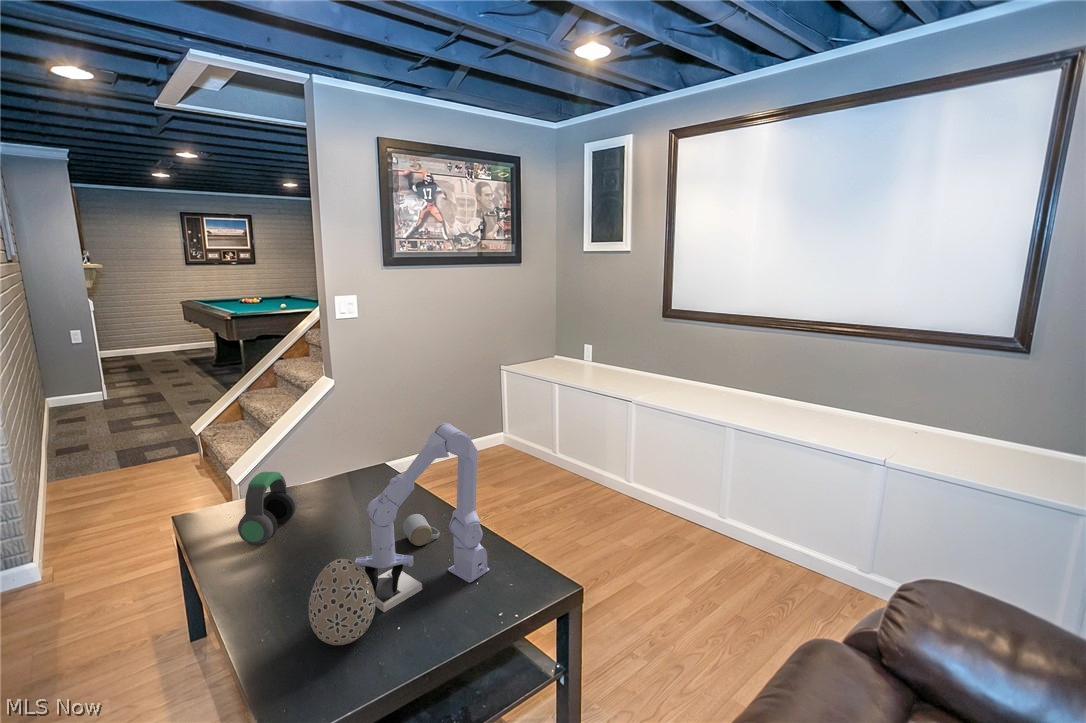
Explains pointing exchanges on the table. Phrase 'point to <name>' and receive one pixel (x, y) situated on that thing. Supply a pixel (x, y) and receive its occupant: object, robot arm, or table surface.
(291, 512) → the headphones
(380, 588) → the plug
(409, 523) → the ceramic mug
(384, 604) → the socket
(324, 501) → the table surface
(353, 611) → the ornament
